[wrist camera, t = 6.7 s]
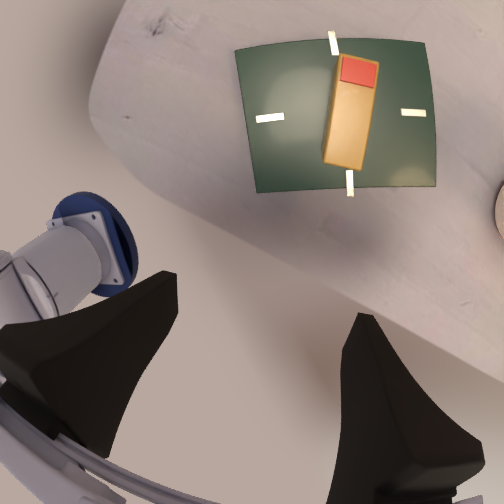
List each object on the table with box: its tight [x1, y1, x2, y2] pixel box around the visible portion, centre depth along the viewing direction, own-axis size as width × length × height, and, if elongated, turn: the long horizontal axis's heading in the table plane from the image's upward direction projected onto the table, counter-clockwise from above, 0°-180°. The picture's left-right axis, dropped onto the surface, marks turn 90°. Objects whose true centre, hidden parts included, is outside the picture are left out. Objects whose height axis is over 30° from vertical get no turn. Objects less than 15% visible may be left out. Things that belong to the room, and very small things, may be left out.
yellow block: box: [321, 53, 379, 171], centre depth 11 cm, size 5×2×4 cm, turn 173°
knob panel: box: [234, 31, 436, 196], centre depth 14 cm, size 10×9×3 cm
